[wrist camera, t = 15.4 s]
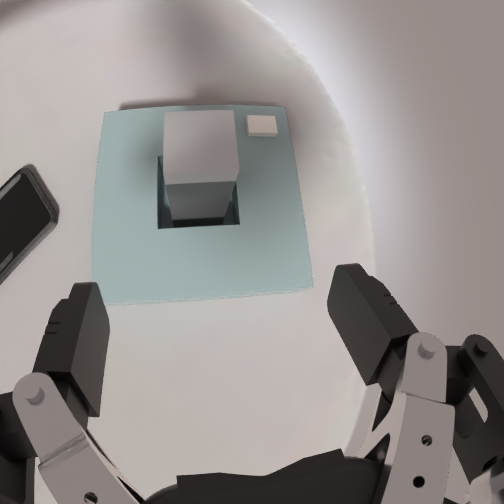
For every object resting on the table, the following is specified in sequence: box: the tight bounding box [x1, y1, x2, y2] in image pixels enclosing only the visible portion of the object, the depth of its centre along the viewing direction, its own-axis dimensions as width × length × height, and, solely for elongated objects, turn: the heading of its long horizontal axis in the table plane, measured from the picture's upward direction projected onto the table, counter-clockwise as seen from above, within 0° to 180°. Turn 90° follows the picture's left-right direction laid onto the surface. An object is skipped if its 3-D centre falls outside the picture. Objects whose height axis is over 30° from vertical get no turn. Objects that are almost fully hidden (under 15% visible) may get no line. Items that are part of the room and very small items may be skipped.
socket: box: [92, 105, 314, 305], centre depth 24 cm, size 16×16×4 cm
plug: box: [163, 110, 239, 228], centre depth 21 cm, size 4×4×10 cm
